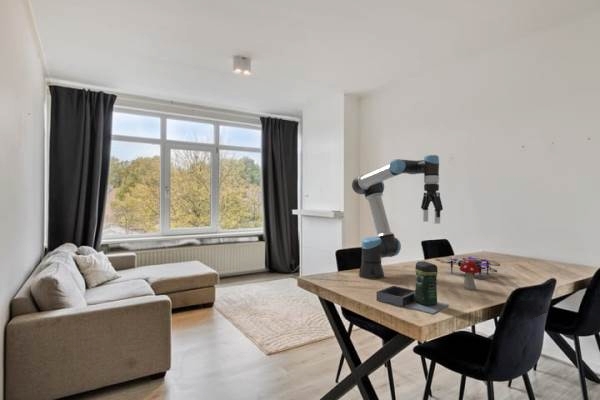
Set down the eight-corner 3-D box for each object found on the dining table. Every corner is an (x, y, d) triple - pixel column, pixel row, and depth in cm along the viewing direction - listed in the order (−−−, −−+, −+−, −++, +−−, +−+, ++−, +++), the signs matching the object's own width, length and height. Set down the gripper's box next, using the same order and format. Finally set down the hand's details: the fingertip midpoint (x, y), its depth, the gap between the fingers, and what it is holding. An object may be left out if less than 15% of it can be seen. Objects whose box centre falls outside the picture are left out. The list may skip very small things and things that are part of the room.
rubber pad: (406, 307, 145) (406, 306, 145) (422, 299, 156) (422, 298, 156) (433, 314, 136) (433, 313, 136) (448, 305, 148) (448, 304, 148)
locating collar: (376, 300, 155) (376, 291, 155) (393, 293, 166) (393, 285, 166) (402, 307, 145) (402, 298, 145) (418, 299, 156) (418, 291, 156)
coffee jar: (440, 305, 146) (441, 264, 145) (424, 307, 144) (425, 264, 143) (426, 298, 155) (427, 259, 155) (411, 300, 153) (412, 260, 153)
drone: (431, 256, 215) (458, 252, 229) (431, 271, 215) (458, 266, 229) (493, 267, 181) (520, 262, 195) (493, 285, 181) (520, 278, 195)
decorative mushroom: (455, 287, 177) (455, 259, 177) (467, 285, 180) (467, 258, 180) (471, 292, 168) (471, 262, 168) (483, 290, 171) (483, 261, 171)
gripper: (450, 182, 168) (449, 224, 168) (427, 184, 193) (427, 220, 193) (435, 182, 167) (435, 224, 168) (415, 184, 192) (414, 220, 192)
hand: (431, 222), depth 180 cm, fingers open, 13 cm apart
